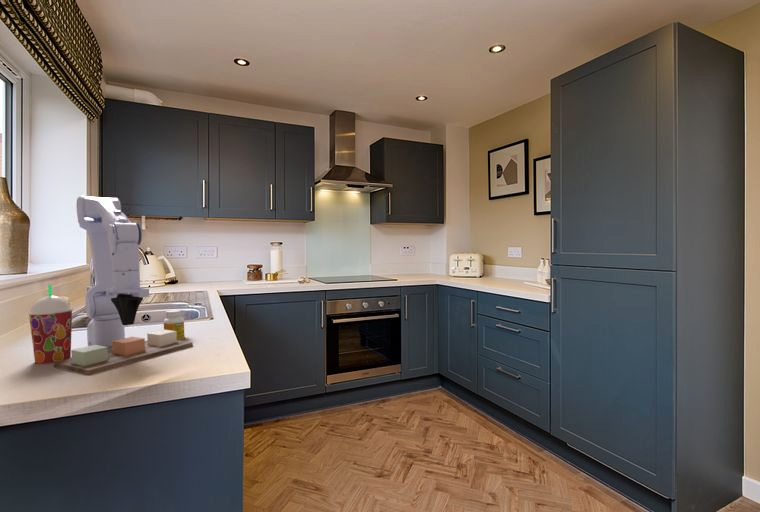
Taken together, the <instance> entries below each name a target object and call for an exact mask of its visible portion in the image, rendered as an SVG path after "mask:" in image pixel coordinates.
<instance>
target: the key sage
mask: <svg viewBox="0 0 760 512" xmlns="http://www.w3.org/2000/svg"><path fill="white" fill-rule="evenodd" d="M108 350H109V349H108V347H104V346H99V345H92V346H88V345H87V346H84V347H78V348H75V349H71V358H72V364H76V365H80V366H87V365H90V364H94V363H98V362H102V361H106V360H108Z"/></svg>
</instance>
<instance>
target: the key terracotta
mask: <svg viewBox="0 0 760 512" xmlns="http://www.w3.org/2000/svg"><path fill="white" fill-rule="evenodd" d="M145 341H146V340H145V338H144V337H138V336H137V337H136V336H130V337H129V336H128V337H125V338H124V339H120V340H115V341H112V342H113V347H112V349H113V354H118V355H124V356H125V355H129V354H133V353H137V352H141V351H145Z"/></svg>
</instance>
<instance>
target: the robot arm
mask: <svg viewBox="0 0 760 512" xmlns="http://www.w3.org/2000/svg"><path fill="white" fill-rule="evenodd" d="M76 214H77V215H76V216H77V222H78V225H79V228H81V229H83V230H85V231H86V233H87V236H88V238H89V245H90V252H91V259H92V260H91V261H92V267H93V273H94V280H95V285H94V286H91V288H89V289H88V290H86V291H87V292H86V293H85V296H84V297H85V306H84V307H85V313H86V316H87V318H89V319H90V321H89V323H88V324H87V326H86V336H87V338H86V339H87V347H88V346H92V345H99V346H104V347H107V348H111V347H112V348H113V342H112V341H115V340H120V339H124V338H126V331H125V328H126V327H125V326H130V325H134V324H135V320H136V316H137V312H138V309H139V307H140V304H141V303H142V301H144V298H147V297H150V288H145V287H141V278H140V277H141V275H140V274H141V273H140V251H139V250H140V249H139V248H140V245H141V243H142V240H143V231H142V226H141V223H139V222H137V221H136V222H132V221H131V220H130V219H129V218H128V217H127V215H126V214H125V213H124V212H122V204H121V200H120V199H119V198H118V197H102V196H101V197H100V196H88V195H86V196H85V195H79V196H78V197H77V199H76Z"/></svg>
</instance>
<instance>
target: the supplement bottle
mask: <svg viewBox="0 0 760 512" xmlns="http://www.w3.org/2000/svg"><path fill="white" fill-rule="evenodd" d="M165 316H166V318H165V319H164V320H163V330H171V331H176V333H177V340H180V341H181V340H182V339H185V318H184V317H182V310H180V309H172V310H171V309H170V310H167V311H166V310H165Z"/></svg>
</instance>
